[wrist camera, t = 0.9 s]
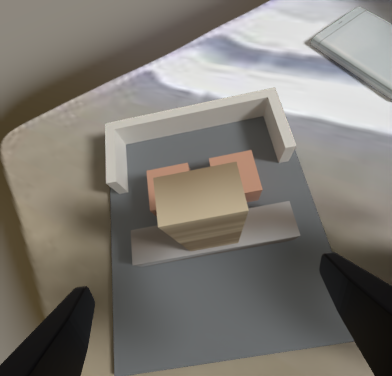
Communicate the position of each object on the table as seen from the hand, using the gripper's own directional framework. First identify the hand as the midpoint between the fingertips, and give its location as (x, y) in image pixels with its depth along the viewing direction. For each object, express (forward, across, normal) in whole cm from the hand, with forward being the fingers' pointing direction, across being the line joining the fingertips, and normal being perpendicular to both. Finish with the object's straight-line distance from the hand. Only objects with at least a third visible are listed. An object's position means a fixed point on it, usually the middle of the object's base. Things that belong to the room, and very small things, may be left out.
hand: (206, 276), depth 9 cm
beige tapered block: (+11, -1, +8) cm, 13 cm away
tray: (+18, -1, +2) cm, 18 cm away
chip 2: (+15, -4, +4) cm, 16 cm away
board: (+13, -1, +7) cm, 15 cm away
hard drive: (+25, -24, -5) cm, 35 cm away
